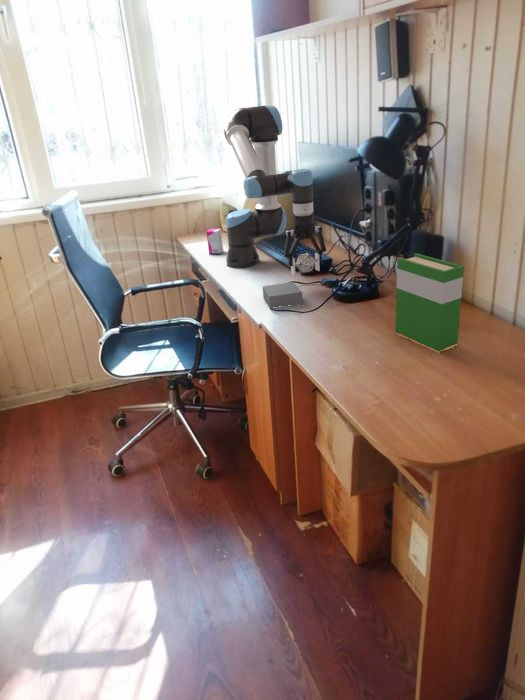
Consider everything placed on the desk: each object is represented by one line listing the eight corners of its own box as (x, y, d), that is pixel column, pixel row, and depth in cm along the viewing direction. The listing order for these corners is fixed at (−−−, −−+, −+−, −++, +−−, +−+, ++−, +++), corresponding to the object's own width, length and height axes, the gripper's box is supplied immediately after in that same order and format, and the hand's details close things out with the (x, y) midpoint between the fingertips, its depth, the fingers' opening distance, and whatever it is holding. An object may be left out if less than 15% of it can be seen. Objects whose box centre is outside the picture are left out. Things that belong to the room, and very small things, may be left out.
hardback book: (395, 334, 168) (397, 258, 157) (413, 327, 171) (416, 253, 160) (438, 353, 154) (444, 272, 143) (457, 346, 157) (463, 266, 146)
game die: (310, 282, 211) (318, 266, 203) (289, 276, 210) (297, 260, 202) (313, 265, 216) (321, 249, 207) (292, 259, 215) (300, 242, 206)
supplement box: (223, 251, 270) (221, 228, 265) (220, 254, 265) (217, 231, 260) (212, 251, 272) (209, 228, 267) (208, 254, 267) (206, 231, 262)
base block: (263, 298, 206) (262, 286, 204) (294, 294, 208) (293, 281, 205) (270, 309, 195) (269, 296, 193) (302, 304, 197) (301, 291, 195)
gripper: (277, 219, 195) (281, 279, 205) (334, 211, 199) (335, 270, 209) (272, 215, 201) (275, 273, 211) (327, 207, 206) (328, 264, 216)
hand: (305, 271), depth 210 cm, fingers closed on game die, 9 cm apart
